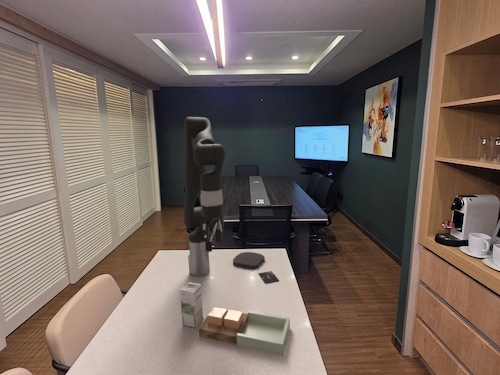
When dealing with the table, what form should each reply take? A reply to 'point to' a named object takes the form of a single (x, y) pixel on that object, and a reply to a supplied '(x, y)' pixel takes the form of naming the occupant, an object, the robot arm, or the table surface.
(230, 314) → the tile
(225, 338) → the board
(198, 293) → the syrup box
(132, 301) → the table surface
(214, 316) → the tile
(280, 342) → the tray
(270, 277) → the solid state drive
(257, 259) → the media streaming box
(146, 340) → the table surface
